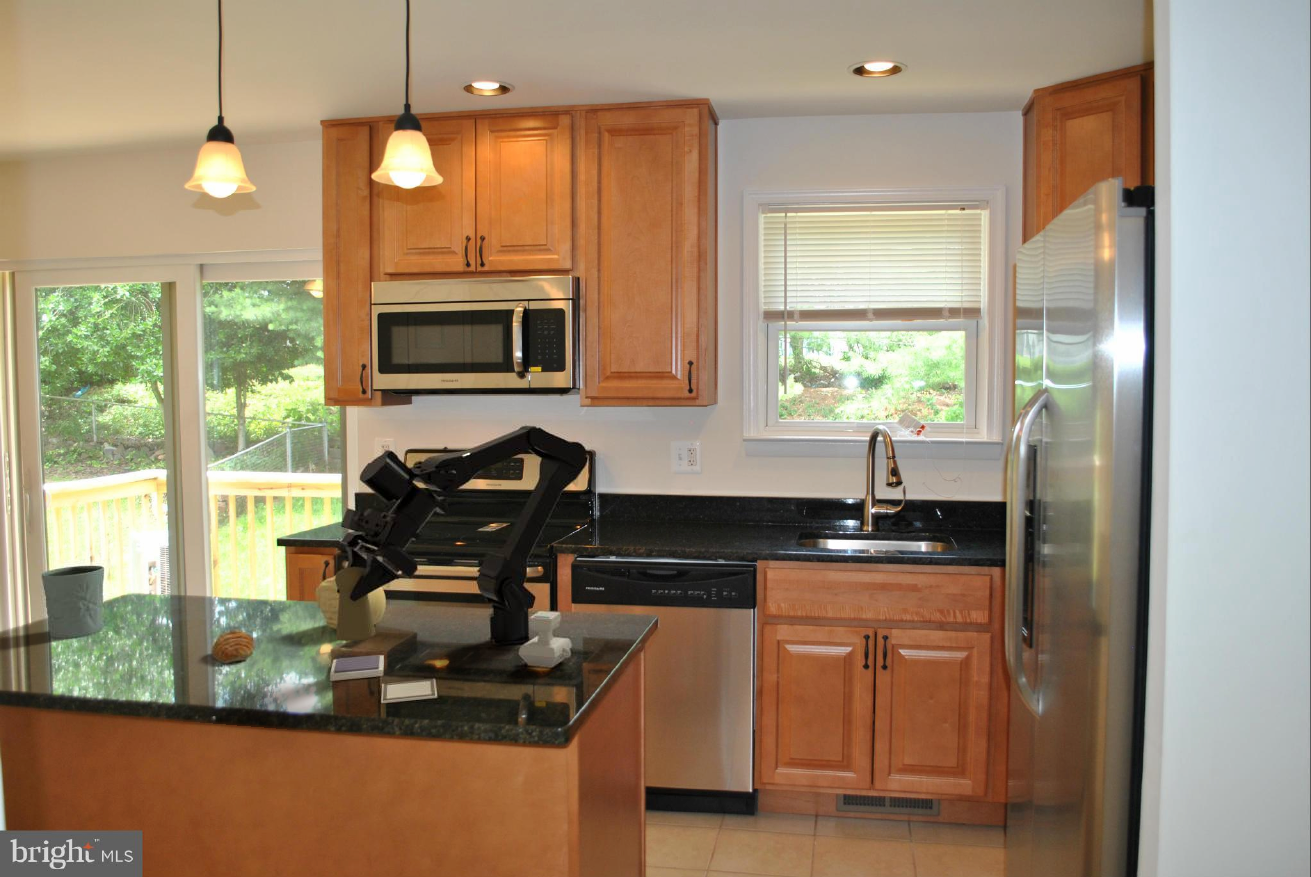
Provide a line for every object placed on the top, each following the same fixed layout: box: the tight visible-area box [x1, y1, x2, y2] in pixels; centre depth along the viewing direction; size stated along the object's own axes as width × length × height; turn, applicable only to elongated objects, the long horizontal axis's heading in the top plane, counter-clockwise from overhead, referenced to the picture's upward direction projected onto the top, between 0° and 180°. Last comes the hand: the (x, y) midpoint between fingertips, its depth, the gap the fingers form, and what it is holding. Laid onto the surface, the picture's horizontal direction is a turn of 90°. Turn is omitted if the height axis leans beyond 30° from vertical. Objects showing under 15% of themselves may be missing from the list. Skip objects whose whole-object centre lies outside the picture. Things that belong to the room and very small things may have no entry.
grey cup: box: [41, 565, 105, 640], centre depth 178 cm, size 10×10×12 cm
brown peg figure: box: [335, 567, 376, 642], centre depth 151 cm, size 6×6×11 cm
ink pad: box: [329, 654, 385, 682], centre depth 153 cm, size 8×8×1 cm
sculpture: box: [315, 575, 387, 631], centre depth 179 cm, size 11×12×11 cm
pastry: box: [211, 630, 256, 664], centre depth 162 cm, size 9×7×4 cm
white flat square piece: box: [380, 678, 438, 704], centre depth 142 cm, size 8×8×1 cm
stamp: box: [518, 610, 573, 669], centre depth 155 cm, size 9×7×8 cm
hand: (345, 596), depth 150 cm, fingers closed on brown peg figure, 5 cm apart
